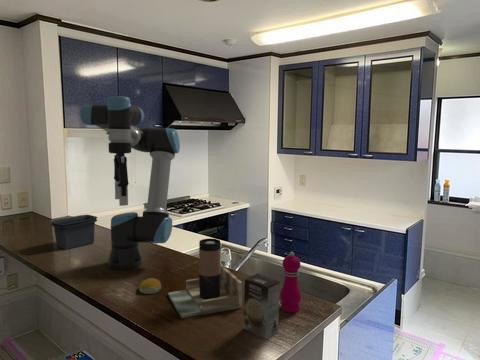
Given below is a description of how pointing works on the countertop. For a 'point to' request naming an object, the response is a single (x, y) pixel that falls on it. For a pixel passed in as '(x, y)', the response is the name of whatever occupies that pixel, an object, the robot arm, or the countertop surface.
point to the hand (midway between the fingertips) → (121, 202)
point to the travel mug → (209, 268)
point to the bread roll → (150, 286)
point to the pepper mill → (290, 284)
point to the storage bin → (74, 231)
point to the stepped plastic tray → (194, 305)
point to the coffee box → (261, 305)
